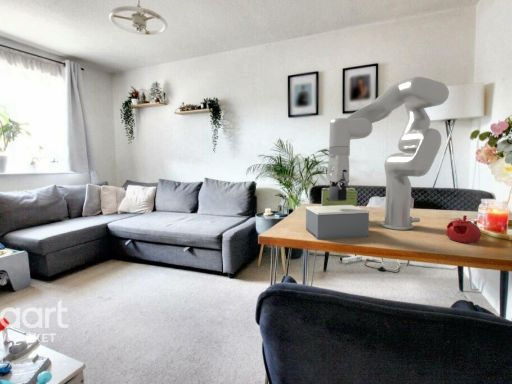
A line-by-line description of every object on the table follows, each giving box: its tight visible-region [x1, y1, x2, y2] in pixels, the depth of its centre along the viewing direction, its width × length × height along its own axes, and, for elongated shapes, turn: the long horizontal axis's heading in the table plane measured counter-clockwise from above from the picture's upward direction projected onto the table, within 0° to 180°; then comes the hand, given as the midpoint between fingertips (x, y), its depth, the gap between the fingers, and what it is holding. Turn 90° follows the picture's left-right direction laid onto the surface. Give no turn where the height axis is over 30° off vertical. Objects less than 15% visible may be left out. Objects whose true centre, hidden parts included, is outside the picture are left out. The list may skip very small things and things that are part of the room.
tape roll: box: [328, 186, 347, 201], centre depth 103 cm, size 6×6×5 cm
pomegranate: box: [446, 215, 482, 244], centre depth 94 cm, size 10×10×9 cm
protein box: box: [321, 187, 358, 207], centre depth 127 cm, size 10×15×16 cm
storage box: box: [305, 208, 370, 240], centre depth 106 cm, size 20×14×9 cm
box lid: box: [305, 205, 370, 215], centre depth 106 cm, size 20×14×1 cm
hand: (337, 198), depth 103 cm, fingers closed on tape roll, 6 cm apart
